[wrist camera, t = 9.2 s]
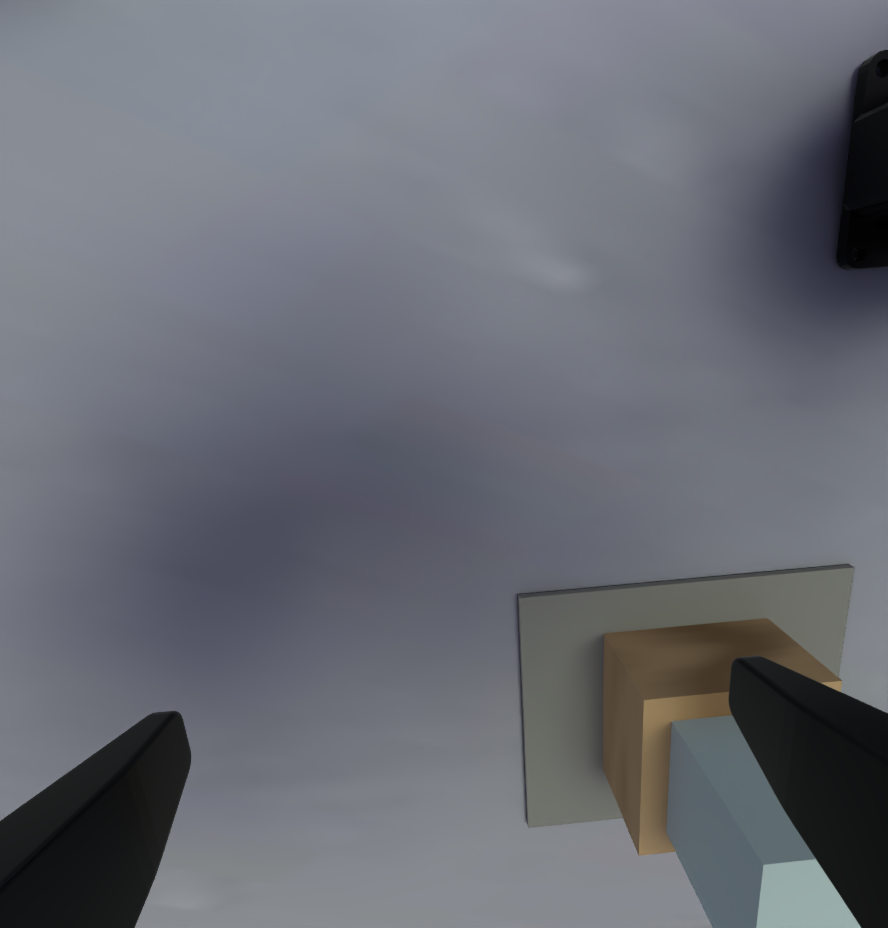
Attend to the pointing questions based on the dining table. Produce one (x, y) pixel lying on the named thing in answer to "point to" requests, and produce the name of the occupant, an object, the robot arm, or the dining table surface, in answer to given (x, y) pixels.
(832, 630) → the mat
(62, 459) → the dining table surface
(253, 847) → the dining table surface
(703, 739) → the slate block
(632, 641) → the tan square block
